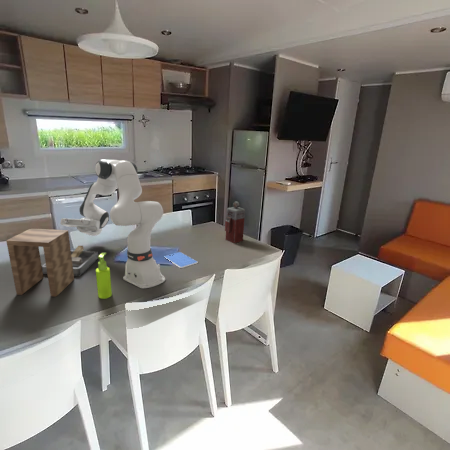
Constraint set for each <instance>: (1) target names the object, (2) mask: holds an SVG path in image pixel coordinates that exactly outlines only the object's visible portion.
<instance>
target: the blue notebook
mask: <svg viewBox="0 0 450 450" xmlns="http://www.w3.org/2000/svg"><path fill="white" fill-rule="evenodd" d="M173 254H174V255H173ZM169 255H171V256H169ZM172 255H173V256H172ZM164 257H165V258H166V259H168V260H169V262H170V261H171V262H172V264H173V265H174V266H176V267H178V268H179V269H184V268H187V267H191V266H194V265H197V264H198V263H199V262H198V261H197V260H195V259H194V258H192V257H190V256H188V255H187V254H185V253H183V252H181V251H178V252H175V253H170V254H167V255H164ZM165 258H164V259H165ZM166 259H165V260H166ZM168 260H167V261H168ZM171 262H170V263H171Z"/></svg>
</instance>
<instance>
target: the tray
mask: <svg viewBox="0 0 450 450" xmlns="http://www.w3.org/2000/svg"><path fill="white" fill-rule="evenodd" d="M74 251H75V250H72V249H71V255H72V254H73V252H74ZM98 257H99V251H89V250H88V251H87V250H83V251H82V252H81V254H80V255H79V257H78V258H82V261H83V263H82V265H81V266H73V273H74V277H80V276H81V275H83V274H84V273H85V272H86V271H87V270H88V269H89V268H90V267H91V266H92V265H93V264H94V263H96V261H97V260H99V258H98ZM41 265H42V271H43V275H47V268H46V262H45V263H43V264H41Z"/></svg>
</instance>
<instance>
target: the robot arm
mask: <svg viewBox="0 0 450 450" xmlns="http://www.w3.org/2000/svg"><path fill="white" fill-rule="evenodd" d="M95 174H96V176H97V179H96V181H94V182H92V183H91V184H90V185H89V188H88V190H87V192H86V194H85V197H84V199H83V201H82V203H81V204H80V206H79V214H80V215H81V216H82V217H81V218H80V219H79V218H66V217H65V218H61V219H60V226H64V227H68V228H76V229H77V231H79V232H80V233H82V234H86V235H88V236H91V237H96V236H99V235H101V233H102V231H103V228H105V226H107V224H108V223H109V222H110V220H111V222H112V223H113V224H114V225H115V226H120V227H127V226H136V225H137V226H136V227H135V228H134V229H133V230H131V231H130V232H129V233H128V235H127V249H126V251H127V252H126V255H127V256H126V257H127V260H126V262H125V267H124V268H125V271H124V275H123V278H122V279H123V281H125V282H128V283H130V284H131V285H133V286H136V287H138V288H140V289H148V288H149V289H150V288H153V287H156V286H158V285H161V284H162V283H164V282H165V281H166V277H165V276H164V275H163V274H162V272H161V264H160V263H157V262H156V259H155V258H154V257H153V250H152V248H151V236H152V232H153V229H154V228H155V226H156V225H157V223H158V222H159V221H160V220H161V219H162V218H163V215H164V208H163V206H162V204H161V203H160V202H159V201H154V200H152V201H151V200H145V201H135V200H137V199H138V198H139V197H140V196H141V195H142V192H143V188H142V185H141V181H140V178H139V175H138V167H137V165H136V163H134V162H131V161H129V160H119V159H105V158H104V159H98V160H97V162H96V163H95ZM117 188H118V189H117ZM116 190H118V193H119V198H118V200H117V202H116V203H115V204H114V205H113V206H111V209H110V212H108V211H106V210H105V209H103V208H101V207H99V206H98V205H96V204H95V203H94V201H95V198H97V197H96V196H97V195H100V196H110V195H111V194H113V193H115V192H116Z"/></svg>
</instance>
